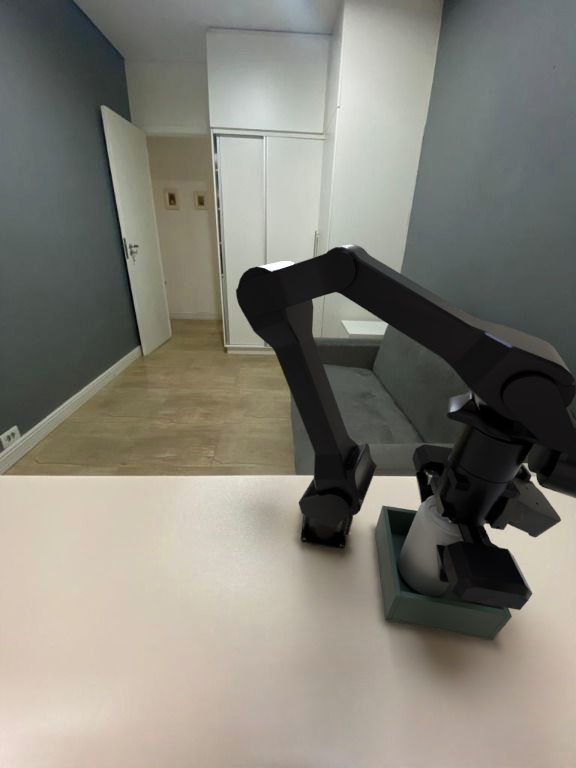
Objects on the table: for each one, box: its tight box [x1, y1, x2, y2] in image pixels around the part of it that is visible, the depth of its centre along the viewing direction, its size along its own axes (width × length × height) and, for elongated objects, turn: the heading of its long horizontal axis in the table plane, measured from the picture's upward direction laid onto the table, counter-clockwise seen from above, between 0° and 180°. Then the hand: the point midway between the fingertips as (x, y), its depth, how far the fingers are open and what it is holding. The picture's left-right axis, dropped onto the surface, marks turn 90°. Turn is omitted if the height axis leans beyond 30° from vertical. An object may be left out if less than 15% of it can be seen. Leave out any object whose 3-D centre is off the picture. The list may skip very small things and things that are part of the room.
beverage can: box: [398, 495, 463, 596], centre depth 38 cm, size 6×6×12 cm
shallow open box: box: [374, 505, 513, 641], centre depth 40 cm, size 12×12×6 cm
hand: (436, 553), depth 39 cm, fingers closed on beverage can, 6 cm apart
